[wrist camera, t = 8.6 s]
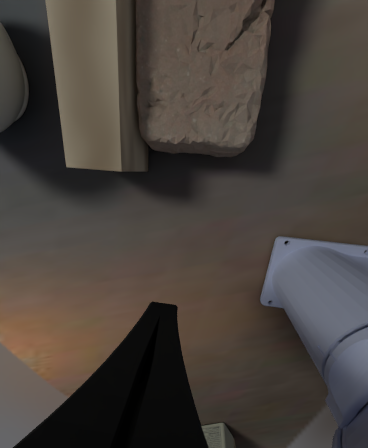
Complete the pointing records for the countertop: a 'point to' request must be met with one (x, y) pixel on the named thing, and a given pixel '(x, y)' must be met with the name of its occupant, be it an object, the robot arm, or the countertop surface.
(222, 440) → the skincare box
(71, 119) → the batten
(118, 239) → the countertop surface
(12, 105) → the white round tub
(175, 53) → the brick
